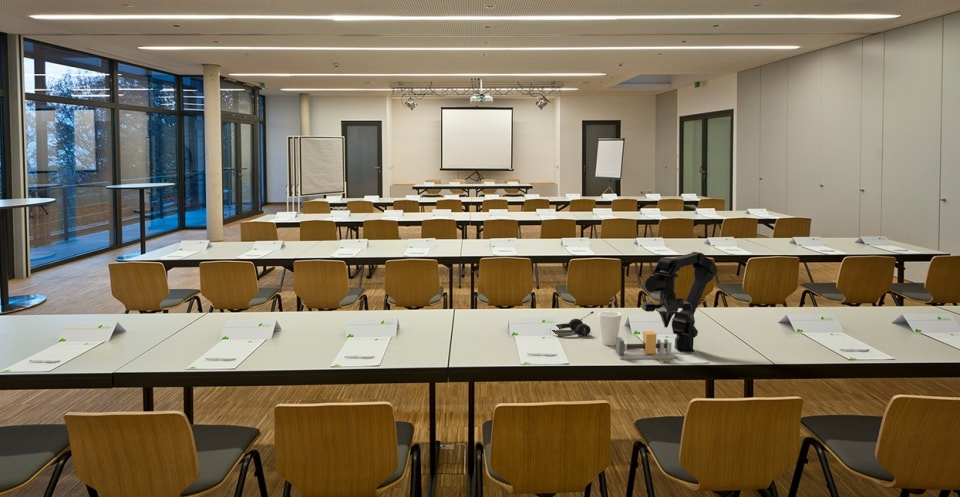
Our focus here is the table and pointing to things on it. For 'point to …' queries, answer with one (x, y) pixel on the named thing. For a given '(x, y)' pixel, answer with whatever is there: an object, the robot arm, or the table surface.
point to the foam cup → (609, 326)
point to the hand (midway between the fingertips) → (665, 327)
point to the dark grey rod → (640, 346)
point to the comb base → (639, 354)
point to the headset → (574, 328)
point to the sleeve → (649, 342)
